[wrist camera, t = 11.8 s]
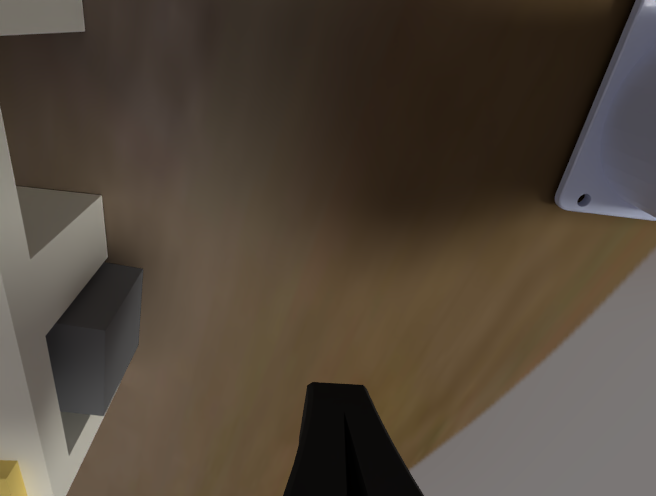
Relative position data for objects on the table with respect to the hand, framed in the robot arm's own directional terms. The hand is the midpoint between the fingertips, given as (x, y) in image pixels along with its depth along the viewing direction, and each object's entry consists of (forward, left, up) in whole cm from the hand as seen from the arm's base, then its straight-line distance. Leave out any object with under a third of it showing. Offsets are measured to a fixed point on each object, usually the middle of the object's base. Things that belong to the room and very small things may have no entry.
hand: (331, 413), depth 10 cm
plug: (+9, +3, -8) cm, 13 cm away
